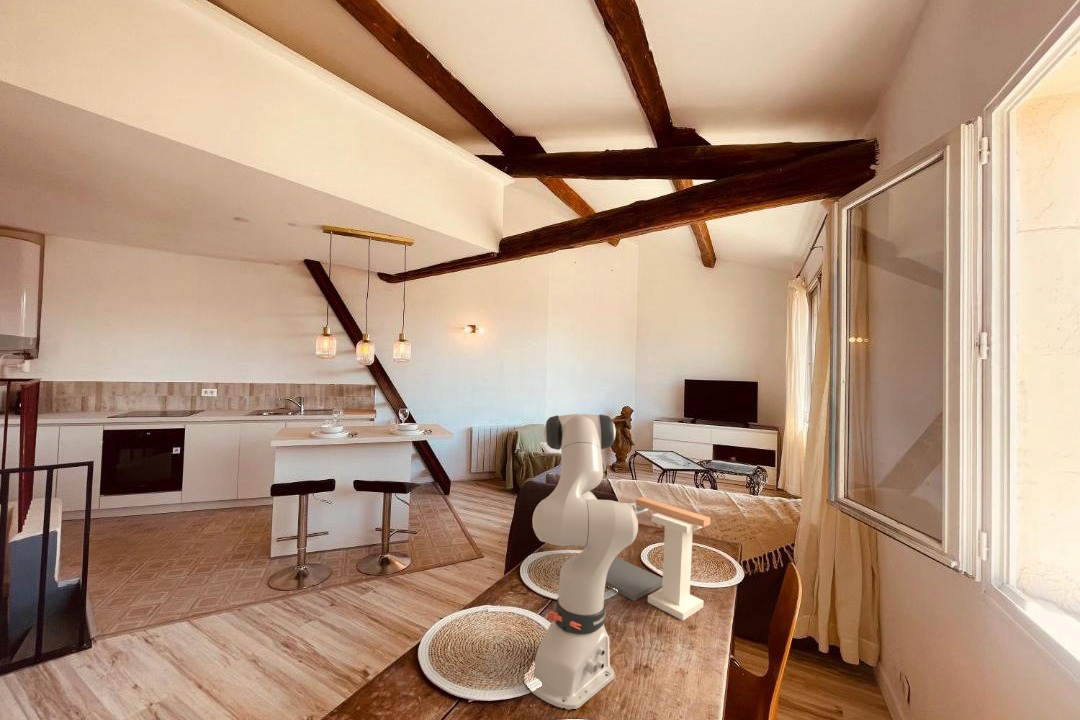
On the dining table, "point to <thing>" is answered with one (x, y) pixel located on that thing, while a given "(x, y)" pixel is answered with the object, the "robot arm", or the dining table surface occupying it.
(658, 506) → the slat
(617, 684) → the dining table surface
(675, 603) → the stand
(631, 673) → the dining table surface
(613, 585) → the mat
